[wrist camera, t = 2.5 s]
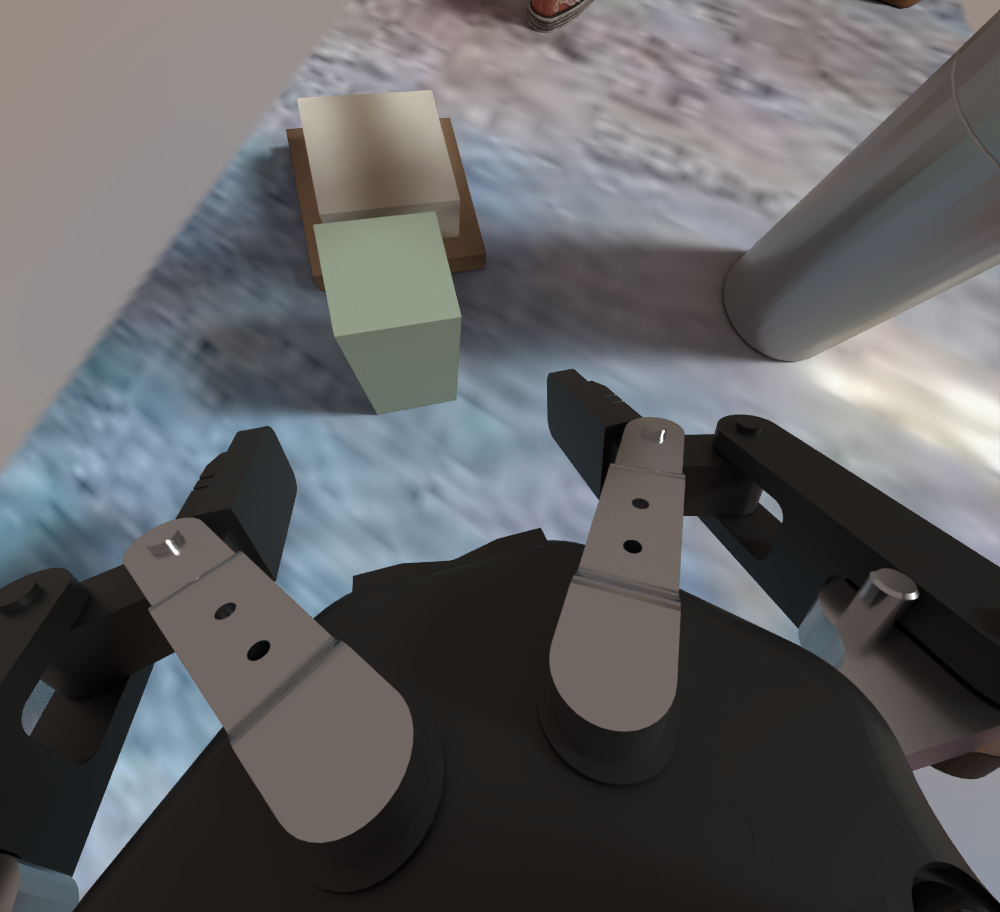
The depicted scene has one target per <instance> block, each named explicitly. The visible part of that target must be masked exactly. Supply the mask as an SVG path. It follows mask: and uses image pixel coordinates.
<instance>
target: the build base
mask: <svg viewBox="0 0 1000 912" xmlns="http://www.w3.org/2000/svg"><path fill="white" fill-rule="evenodd" d="M297 101H298V106H299V112H300V117H301V122H302V127H303V128H297V129H286V132H287V138H288V143H289V148H290V154H291V159H292V165H293V170H294V176H295V181H296V187H297V192H298V198H299V203H300V208H301V214H302V219H303V225H304V230H305V236H306V241H307V247H308V252H309V258H310V263H311V269H312V274H313V277H314V279H315V281H316V283H317V285H318V287H319V289H320V291H322V290H325V285H324V280H323V275H322V269H321V264H320V259H319V253H318V248H317V243H316V237H315V232H314V227H313V225H315V224H324V223H333V222H342V221H351V220H361V219H370V218H379V217H388V216H397V215H406V214H415V213H424V212H433V211H435V212H436V216H437V220H438V224H439V228H440V232H441V236H442V240H443V244H444V248H445V252H446V256H447V260H448V264H449V268H450V272H451V273H454V272H461V271H469V270H476V269H483V268H484V265H485V258H486V252H485V248H484V244H483V240H482V237H481V233H480V229H479V225H478V222H477V218H476V214H475V210H474V207H473V203H472V199H471V195H470V192H469V188H468V184H467V180H466V177H465V173H464V169H463V165H462V162H461V158H460V154H459V150H458V147H457V143H456V139H455V135H454V132H453V128H452V124H451V120H450V118H439V117H438V113H437V109H436V105H435V101H434V97H433V94H432V90H428V91H411V92H394V93H377V94H360V95H343V96H326V97H309V98H297Z"/></svg>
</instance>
